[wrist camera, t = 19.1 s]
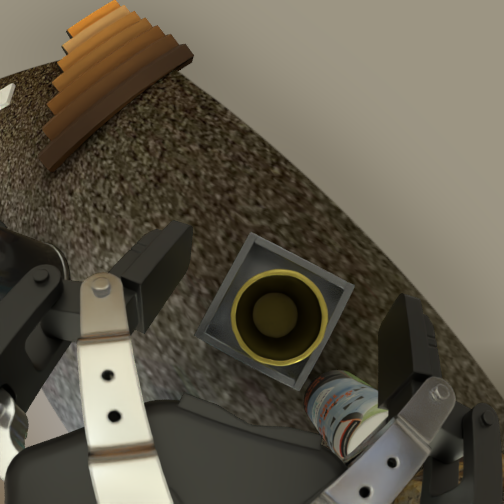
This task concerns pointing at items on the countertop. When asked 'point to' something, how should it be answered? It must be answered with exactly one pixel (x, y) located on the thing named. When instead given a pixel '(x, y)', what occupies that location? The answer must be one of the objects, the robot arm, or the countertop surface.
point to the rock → (411, 494)
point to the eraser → (6, 95)
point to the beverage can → (343, 410)
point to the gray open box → (245, 267)
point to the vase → (279, 317)
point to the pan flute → (105, 75)
